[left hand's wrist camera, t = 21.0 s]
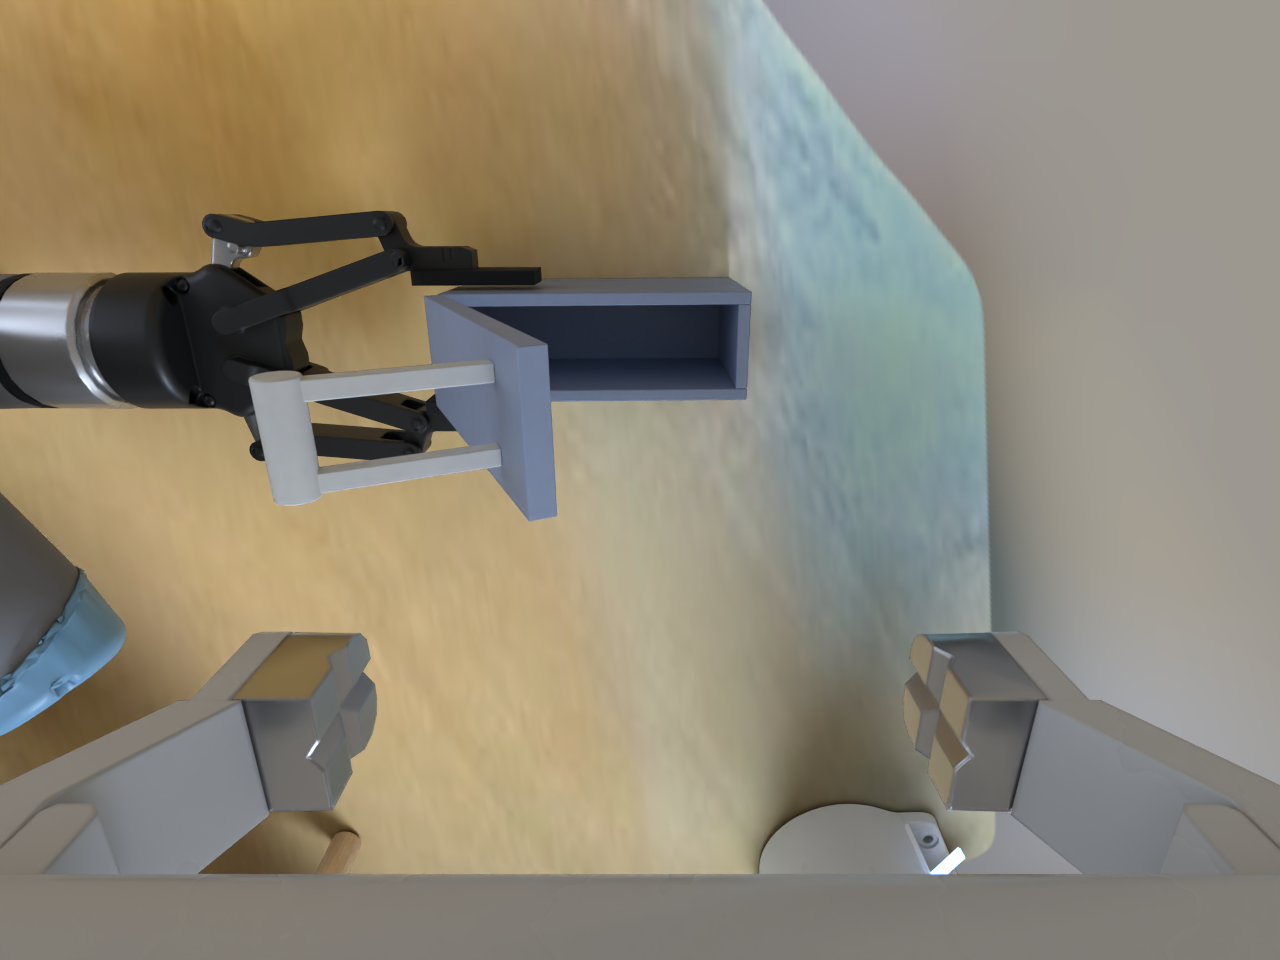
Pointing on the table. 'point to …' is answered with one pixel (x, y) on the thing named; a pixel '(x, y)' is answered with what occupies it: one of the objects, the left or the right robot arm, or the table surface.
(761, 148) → the table surface
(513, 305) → the chest
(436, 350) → the lid
